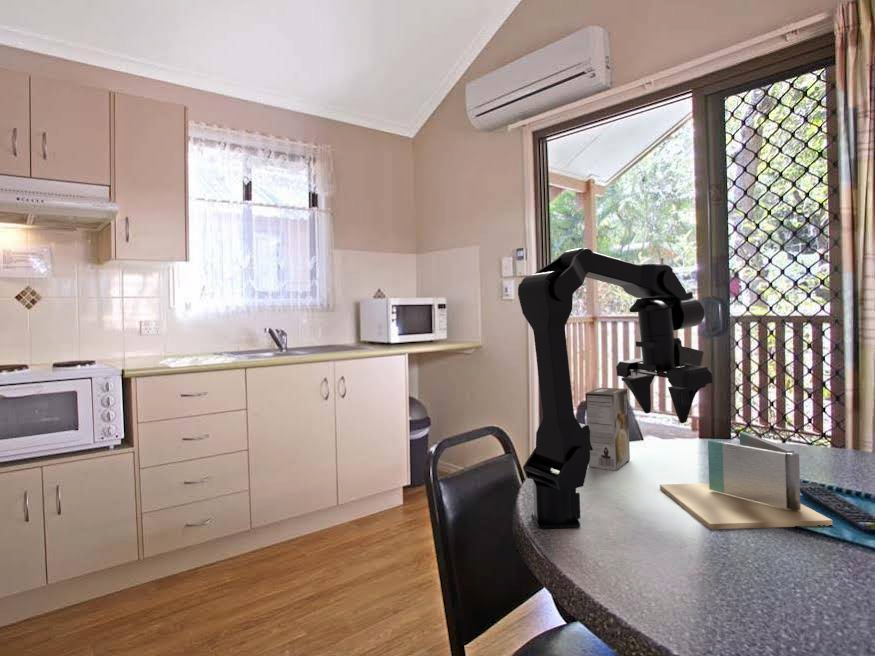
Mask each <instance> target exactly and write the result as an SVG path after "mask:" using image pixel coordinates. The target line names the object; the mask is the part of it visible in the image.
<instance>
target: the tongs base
mask: <svg viewBox="0 0 875 656" xmlns="http://www.w3.org/2000/svg"><path fill="white" fill-rule="evenodd" d="M739 445H743V446H749V447H755V448H760V449H766V450H772V451H777V452H783V453H785V452H794V453H795V450H793V449H790V448H788V447H785V446H782V445H780V444H777V443H774V442H772V441H770V440H767V439H764V438H762V437H759V436H756V435H754V434H751V433H748V432H747V431H740V432H739ZM659 490H660V491H662V492H663V493H664V494H666V495H667V496H668V497H669V498H671V499H672V500H673V501H674V502H675V503H676V504H678V505H680V506H681V507H682V508H683V509H685V511H687V512H688V513H690V514H691V515H692V516H693V517H694V518H696V520H698V521H699V522H701V523H702V524H703V525H704V526H705V527H707V528H708V529H709V530H725V529H726V530H729V529H731V530H732V529H733V530H734V529H764V528H765V529H767V528H794V527H795V526H801V527H825V526H826V527H828V526H829V525H833V524H834V523H833V519H831V518H829V517H827V516H825V515H824V514H822V513H820V512H818V511H816V510H814V509H812V508H810V507H808V506H806V505H804V504H803V503H801V510H791V509H784V508H780V507H777V506H773V505H769V504H765V503H761V502H757V501H753V500H749V499H745V498H741V497H738V496H734V495H730V494H726V493H721V492H717V491H713V490H709V482H701V483H699V482H698V483H673V484H671V483H670V484H659ZM814 525H815V526H814ZM818 525H820V526H818ZM823 525H825V526H823ZM829 527H830V526H829ZM795 528H796V527H795Z"/></svg>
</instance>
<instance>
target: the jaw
mask: <svg viewBox="0 0 875 656" xmlns="http://www.w3.org/2000/svg"><path fill="white" fill-rule="evenodd" d="M707 453H708V456H707V457H708V483H709V490H713V491H717V492H721V493H726V494H730V495H734V496H738V497H741V498H745V499H749V500H753V501H757V502H761V503H765V504H769V505H773V506H777V507H780V508H784V509H791V510H801V504H802V503H801V477H800V476H801V475H800V454H799V453H798V452H795V451H794V452H785V453H783V452H777V451H772V450H766V449H760V448H755V447H749V446H743V445H740V444H736V443H731V442H725V441H720V440H716V439H715V440H714V439H709V440H707Z"/></svg>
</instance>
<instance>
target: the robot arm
mask: <svg viewBox="0 0 875 656" xmlns="http://www.w3.org/2000/svg"><path fill="white" fill-rule="evenodd" d="M586 278H587V279H592V280H596V281H599V282H602V283H607V284H610V285H616V286H619V287H621V288H622V289H623V292H624V293H626V294H628V295H630V296H631V297H634V298H636V300H635V302H634V303H633V304H632V305H631V307H629V310H628V312H630V313H637V316H638V326H639V335H640V336H639V337H640V340H635V347H638V348H640V349H641V357H642V358H637V357H636V358H632V359H628V360H621V361H619V362H618V363H617V365H616V366H615V369H616V370H615V371H616V376H617V377H621V381H622V382H624V384H625V385H626V386H627V389H628V390H630V392H631V393H632V396H634V398H635V399H636V401H637V402H638V404H639V406H640V408H641V409H642V411H643V412H644V413H645V414H650V413H651V412H652V411H651V410H652V395H651V393H652V392H651V384H652V383H653V380H654V379H655V377H659V378H665V379H667V381H668V383H669V384H670V385H671V386H668V387H667V388H668V391H669V395H670V398H671V401H672V404H673V407H674V409H675V413H676V416H677V418H678V421H679V423H680V424H684V423H687V422H688V419H689V418H688V417H689V414H690V412H691V409H692V408H691V407H692V405H693V402H694V399H695V396H696V394H697V393H698V392H699V391H700V390H701V389H703V388H706V387H707V385H708V384H713V381H714V380H713V370H711V369H710V368H709V367H708V366H702V364H703V360H704V354H705V351H703V350H699V349H695V348H691V347H687V346H683V345H682V343H683V342H682V340H681V339H680V337H675V332H674V331H679V330H684V329H687V328H692V327H696V326H698V325H700V324H701V323H702V322H703V320H704V317H705V309H704V307H703V305H702V303H701V302H700V301H699V300H698V299H696V298H695V297H694V296H693V295H694V294H693V291H686V289H685V288H684V286H683V285H682V283H681V282H680V280H679V278H678V277H677V275H676V274H675V272H674V270H673V268H672V267H671V265H668V264H667V263H665V264H663V263H645V264H644V263H643V264H642V263H641V264H638V263H635V262H630V261H627V260H623V259H619V258H617V257H612V256H610V255H609V256H608V255H606V254H602V253H599V252H596V251H593V250H592V249H590V248H586V247H579V248H574V249H570V250H566V251H564V252H563V253H561V254H560V255H559V256H558V257H556V259H554V260H553V261H551V262H550V263H548V264H546V265H544V266H543V267H541V268H540V269H538V270H537V271H536V272H535V273H533V274H529V275H526V276H525V277H524V278H523V279H522V280H521V282H520V283H519V284H518V287H517V296H518V300H519V304H520V308H521V312H522V314H523V316H524V318H525V319H526V322H528V324H529V326H530V328H531V329H532V331H533V338H534V339H533V340H534V347H535V357H536V364H537V365H536V366H537V374H538V375H537V376H538V383H539V393H540V400H541V401H540V403H541V412H542V419H541V421H540V423H539V425H538V427H537V430H536V433H535V435H536V436H535V447H534V450H533V451H532V452H531V454H530V455H529V457H528V459H527V460H526V461H525V463H524V464H523V467H522V469H523V472H524V475H525V478H527V479H529V480H532V488H533V491H532V492H533V509H532V510H531V514H532V516H533V518H534V521H535V523H536V525H537V528H539V529H559V528H561V529H562V528H565V529H566V528H580V527H581V522H580V521H579V519H581V500H580V499H581V498H580V497H581V496H580V492H579V491H578V490H577V489H578V488H582V487H584V486H585V485H584V484H585V481H586V476H587V471H588V467H589V466H588V464H589V462H590V450H591V451H592V450H593V448H592V446H591V443H590V429H589V426H588V425H587V424H584V423H580V422H579V421H578V419H577V418H576V416H575V410H574V401H573V390H572V382H571V373H570V364H569V363H570V362H569V356H568V355H569V354H568V352H569V351H568V345H567V337H566V336H567V335H566V326H567V323H568V321H569V317H571V313H572V311H573V302H574V301H573V297H574V294H575V292H576V291H577V290H579V288H580V287H582V286H583V284H584V282H585V279H586ZM551 469H553V470H556V471H559V472H556V471H553V470H551Z"/></svg>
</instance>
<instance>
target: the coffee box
mask: <svg viewBox="0 0 875 656" xmlns="http://www.w3.org/2000/svg"><path fill="white" fill-rule="evenodd" d="M628 402H629V400H628V388H618V387H598V388H596V389H593V390H590V391H588V392H586V393H585V414H586V425H588V426H589V429H590V443H591V446H592V448H593V450H592V451H591V450H590V462H589V464H588V467H590V468H597V469H602V468H603V470H604V469H605V470H609V469H612V471H618V470H619V469H621V468H622V467H623V466H624V465H625V464H626V462H627V461H628V462H629V461H630V460H631V453H630V449H631V448H630V429H629V427H630V426H629V403H628ZM628 462H627V463H628ZM622 465H623V466H622ZM621 466H622V467H621ZM618 468H619V469H618ZM617 469H618V470H617Z"/></svg>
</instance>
